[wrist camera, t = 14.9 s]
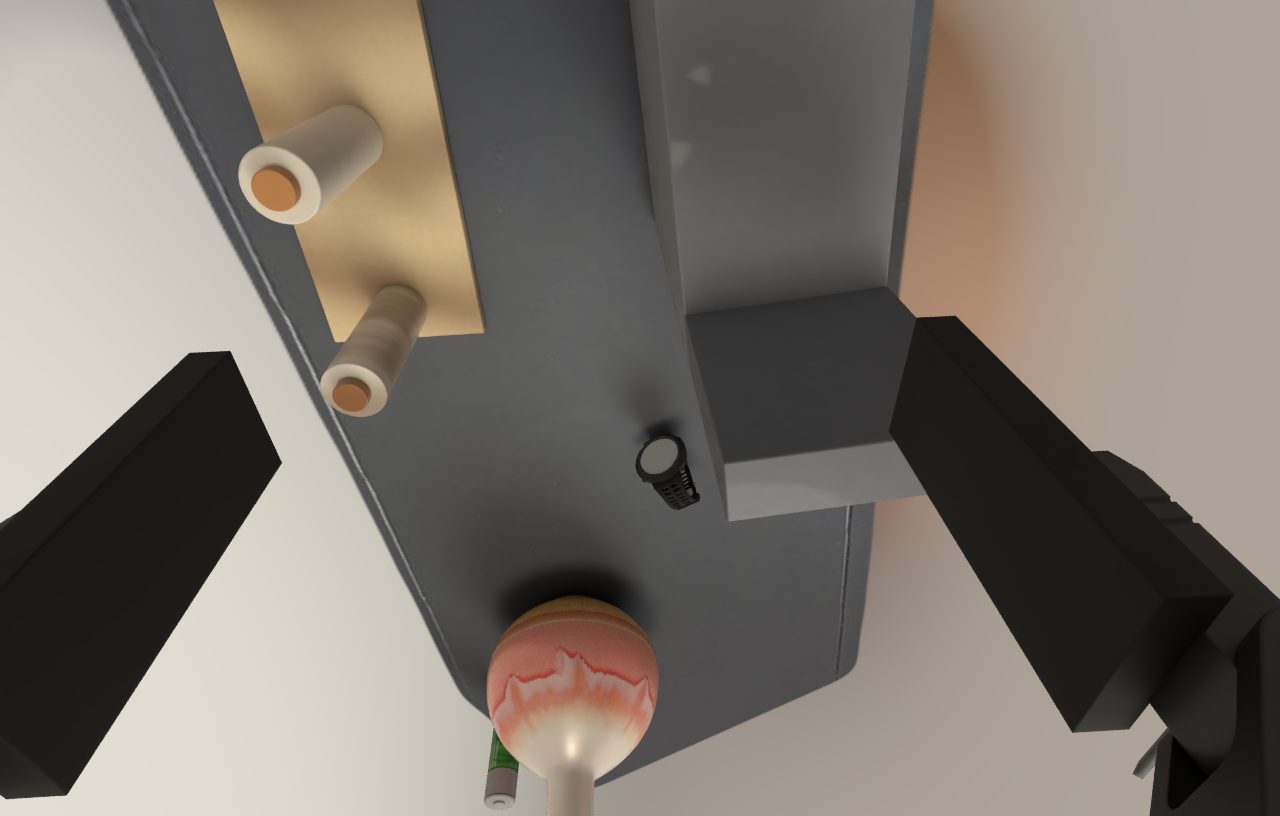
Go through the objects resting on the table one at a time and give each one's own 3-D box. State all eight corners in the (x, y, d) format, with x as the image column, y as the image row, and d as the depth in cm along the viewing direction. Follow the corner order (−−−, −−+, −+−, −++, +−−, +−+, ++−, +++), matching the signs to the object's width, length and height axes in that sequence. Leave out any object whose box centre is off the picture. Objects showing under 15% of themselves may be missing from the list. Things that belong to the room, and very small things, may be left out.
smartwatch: (689, 417, 44) (699, 463, 40) (694, 473, 47) (704, 521, 43) (631, 424, 44) (634, 471, 40) (639, 480, 47) (643, 529, 43)
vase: (667, 649, 59) (690, 870, 45) (526, 676, 60) (504, 900, 46) (633, 551, 51) (648, 779, 37) (472, 584, 52) (426, 819, 38)
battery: (491, 703, 62) (477, 808, 55) (506, 690, 61) (494, 795, 54) (514, 711, 63) (504, 815, 56) (530, 699, 62) (521, 803, 55)
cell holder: (164, -163, 26) (-48, -228, 17) (386, -172, 26) (285, -242, 18) (339, 336, 39) (267, 439, 30) (486, 327, 39) (456, 426, 31)
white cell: (327, 92, 31) (236, 134, 23) (390, 122, 32) (322, 172, 24) (315, 151, 32) (224, 209, 24) (375, 177, 33) (307, 242, 25)
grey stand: (591, -321, 24) (579, -1631, 4) (774, -351, 24) (1619, -1859, 4) (654, 221, 36) (727, 522, 16) (776, 203, 36) (999, 486, 16)
